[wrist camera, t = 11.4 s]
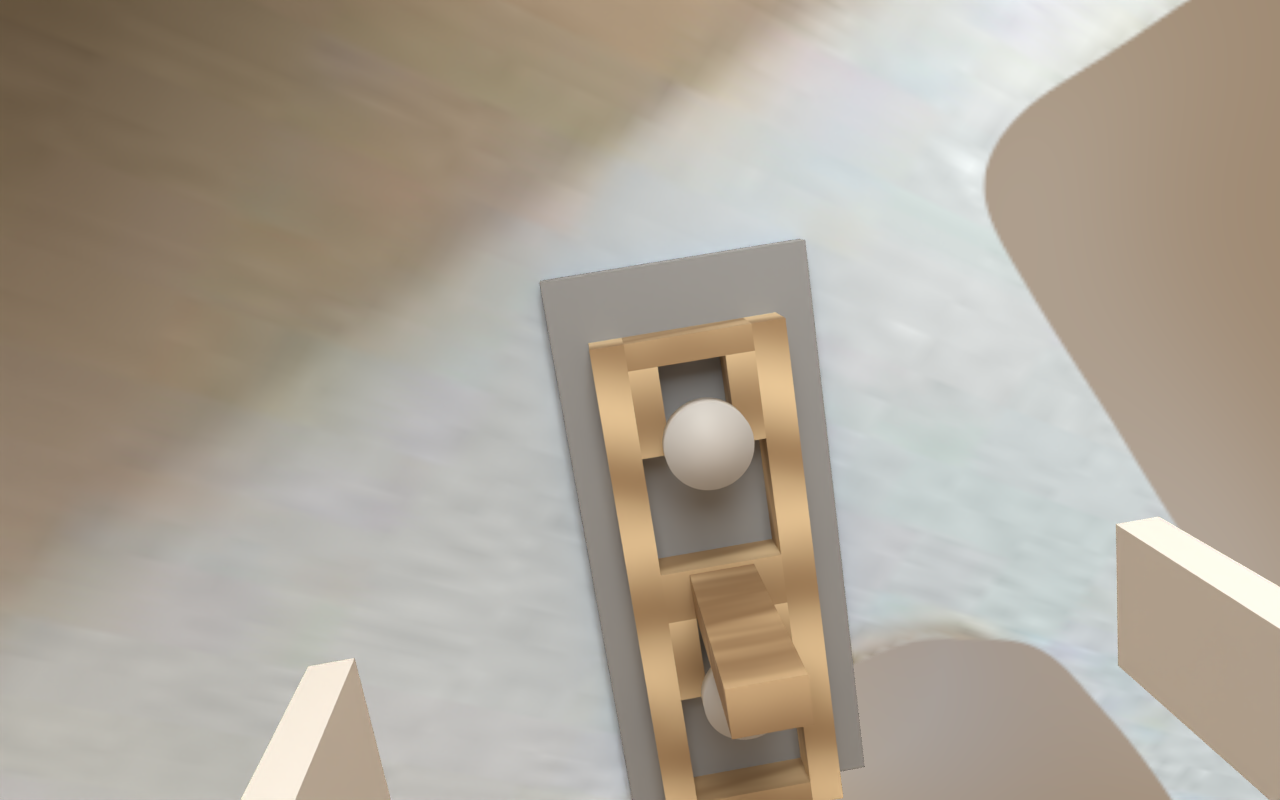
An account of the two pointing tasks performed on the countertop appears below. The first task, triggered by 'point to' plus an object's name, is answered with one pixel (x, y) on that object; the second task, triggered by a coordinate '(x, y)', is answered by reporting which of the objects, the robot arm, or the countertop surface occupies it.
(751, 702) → the ball track frame
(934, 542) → the countertop surface
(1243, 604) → the robot arm
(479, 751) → the countertop surface
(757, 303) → the board
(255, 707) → the countertop surface
